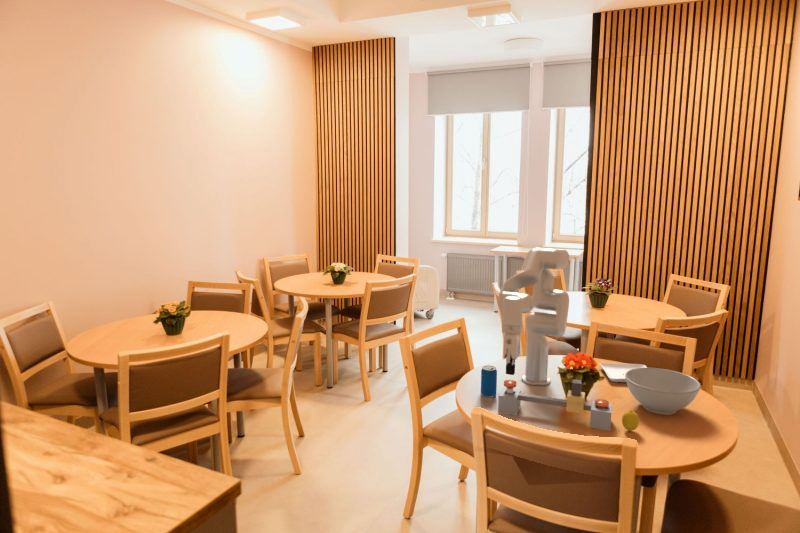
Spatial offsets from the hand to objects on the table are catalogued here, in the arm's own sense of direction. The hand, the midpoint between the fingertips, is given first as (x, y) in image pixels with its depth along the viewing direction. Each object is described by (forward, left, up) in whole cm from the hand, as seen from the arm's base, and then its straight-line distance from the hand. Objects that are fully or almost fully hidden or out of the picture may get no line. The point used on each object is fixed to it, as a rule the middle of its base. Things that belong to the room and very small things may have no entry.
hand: (510, 373), depth 212 cm
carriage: (0, +25, -11) cm, 27 cm away
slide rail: (0, +17, -15) cm, 23 cm away
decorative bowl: (-24, +55, -15) cm, 62 cm away
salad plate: (-56, +43, -16) cm, 73 cm away
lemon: (+2, +44, -15) cm, 47 cm away
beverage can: (-11, -11, -15) cm, 22 cm away
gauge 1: (0, 0, -11) cm, 11 cm away
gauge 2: (0, +34, -13) cm, 37 cm away
